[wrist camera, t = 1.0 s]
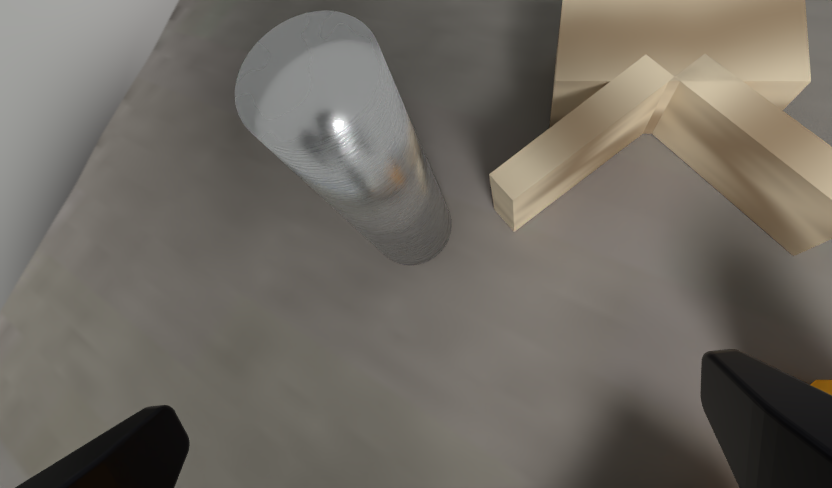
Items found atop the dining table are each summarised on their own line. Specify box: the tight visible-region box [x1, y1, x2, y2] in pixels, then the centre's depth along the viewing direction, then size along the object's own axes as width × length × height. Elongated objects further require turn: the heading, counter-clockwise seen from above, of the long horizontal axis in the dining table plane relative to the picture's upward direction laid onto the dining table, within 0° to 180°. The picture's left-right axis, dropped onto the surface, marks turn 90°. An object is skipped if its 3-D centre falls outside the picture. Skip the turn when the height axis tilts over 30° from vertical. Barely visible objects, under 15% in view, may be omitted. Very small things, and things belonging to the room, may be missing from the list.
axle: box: [235, 10, 452, 265], centre depth 17 cm, size 4×4×12 cm
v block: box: [489, 0, 832, 256], centre depth 19 cm, size 10×13×4 cm
